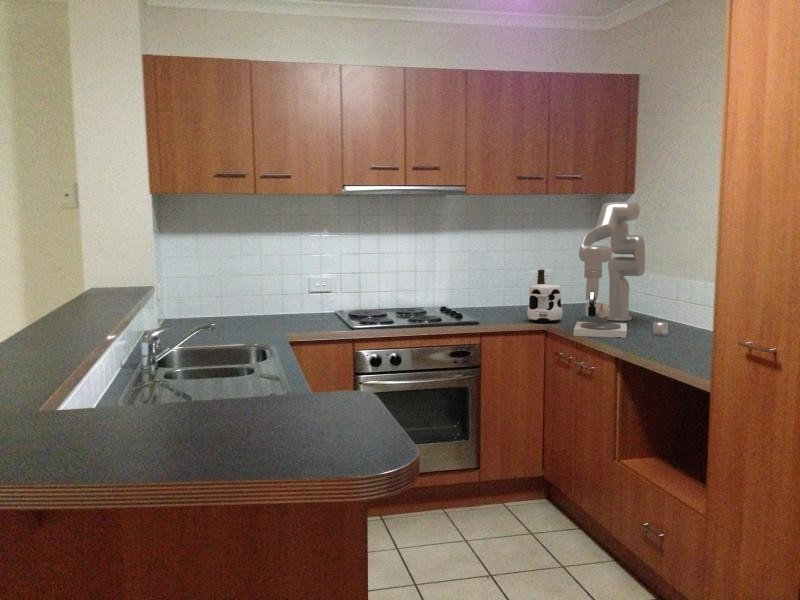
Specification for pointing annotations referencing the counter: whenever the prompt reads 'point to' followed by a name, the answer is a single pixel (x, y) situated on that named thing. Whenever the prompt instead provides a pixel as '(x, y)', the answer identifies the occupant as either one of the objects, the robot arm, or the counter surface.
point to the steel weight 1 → (596, 309)
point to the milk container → (544, 303)
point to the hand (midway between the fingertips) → (592, 314)
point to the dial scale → (601, 326)
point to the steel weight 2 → (660, 328)
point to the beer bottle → (541, 277)
